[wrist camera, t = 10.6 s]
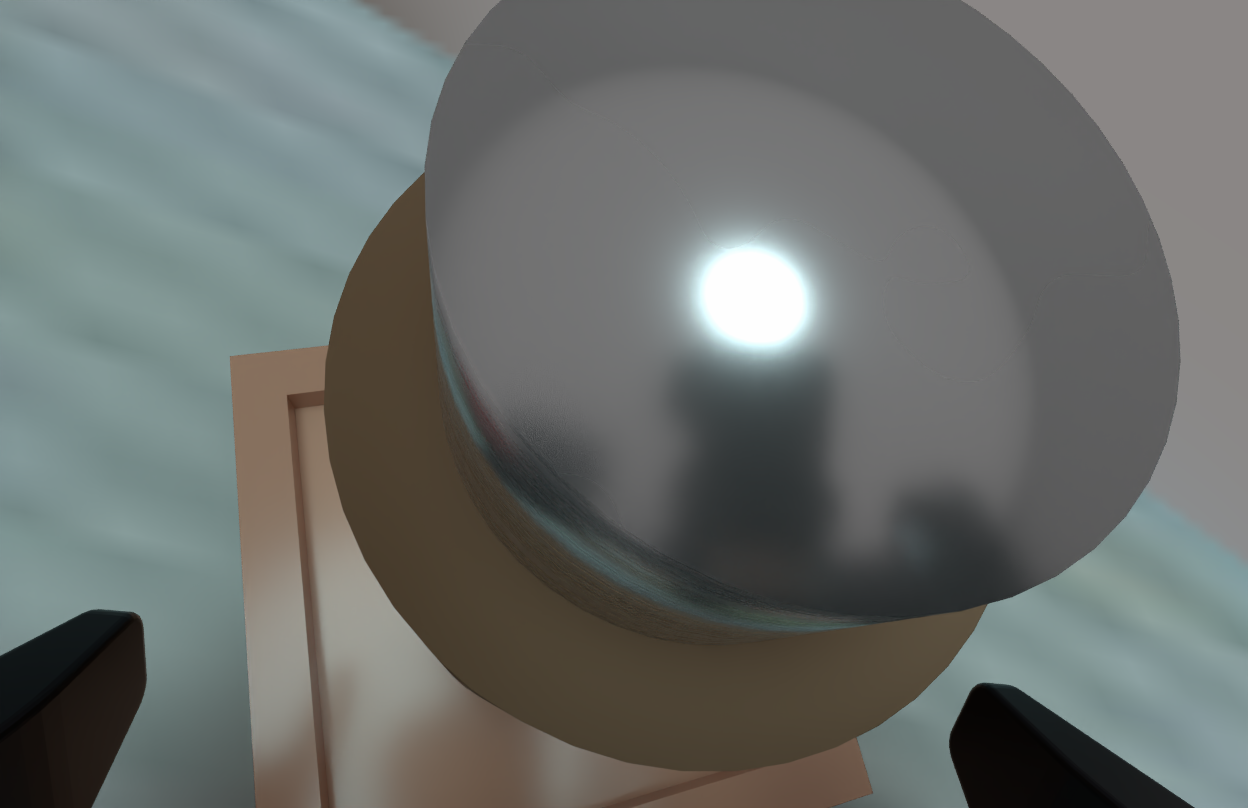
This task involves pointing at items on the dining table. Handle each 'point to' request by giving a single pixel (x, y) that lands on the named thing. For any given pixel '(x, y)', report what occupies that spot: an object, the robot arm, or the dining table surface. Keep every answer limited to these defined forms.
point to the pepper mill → (742, 365)
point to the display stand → (406, 661)
